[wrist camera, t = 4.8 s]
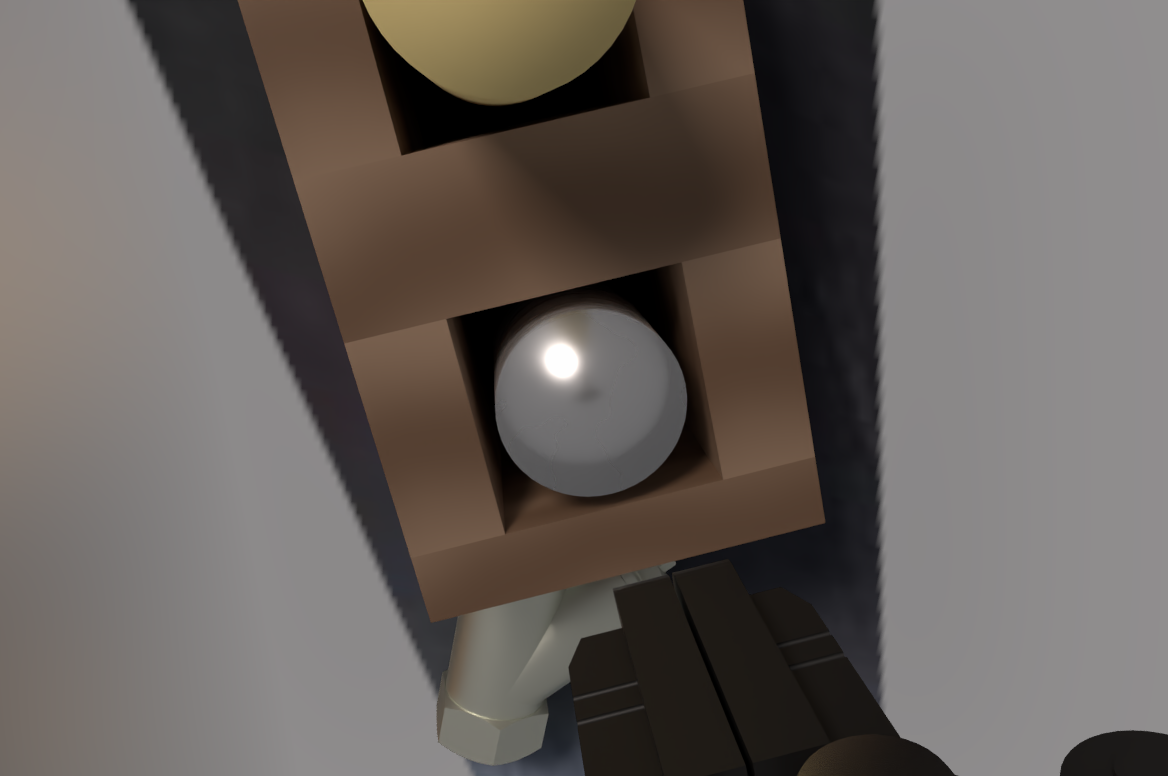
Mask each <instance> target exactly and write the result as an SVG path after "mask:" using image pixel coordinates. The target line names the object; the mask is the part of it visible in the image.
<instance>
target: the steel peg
mask: <svg viewBox="0 0 1168 776" xmlns="http://www.w3.org/2000/svg"><path fill="white" fill-rule="evenodd" d="M492 343H493V366H494V390H495V412H496V422H497V427H498V431H499V434H500V437H501V440H502V443H503V445H504V447H505V448H506V450H507V452H508V454H509V455H510V457H511V458H512V460H513V461H514V462H515V464H516V465H517V466H518V467H519V468H520V469H521V470H522V471H523V472H524V473H525V474H527V475H528V476H529V477H530V478H531V479H533V480H534V481H536V482H538V483H539V484H541V485H543V486H545V487H547V488H549V489H551V490H554V491H557V492H560V493H563V494H568V495H573V496H585V497H591V496H602V495H608V494H613V493H616V492H619V491H622V490H625V489H627V488H629V487H632V486H634V485H636V484H637V483H639V482H641V481H642V480H644V479H646V478H647V477H648V476H649V475H651V474H652V473H653V472H655V471H656V470H657V469H658V468H659V467H660V466H661V465H662V464H663V463H664V461H665V460H666V459H667V457H668V456H669V455H670V454H671V452H672V450H673V449H674V447H675V445H676V444H677V442H678V439H679V437H680V435H681V432H682V429H683V426H684V422H685V418H686V411H687V392H686V384H685V380H684V377H683V373H682V370H681V368H680V366H679V363H678V361H677V360H676V358H675V356H674V355H673V353H672V351H671V350H670V349H669V347H668V346H667V345H666V344H665V342H664V341H663V340H662V339H661V338H660V336H659V335H658V334H657V333H656V331H655V330H654V329H653V328H652V327H651V325H650V324H649V323H648V322H647V321H646V319H645V318H644V317H643V316H642V314H641V313H640V312H639V311H638V310H637V308H636V307H635V306H634V305H633V303H632V302H631V301H630V300H629V299H628V297H627V296H626V295H625V294H624V292H623V291H622V290H621V289H620V288H619V286H618V285H617V284H616V283H615V282H614V281H613V280H612V279H610V280H606V281H602V282H598V283H593V284H589V285H585V286H581V287H577V288H573V289H569V290H564V291H560V292H556V293H552V294H548V295H544V296H540V297H535V298H531V299H527V300H523V301H519V302H515V303H510V304H506V305H502V306H498V307H497V310H496V313H495V316H494V321H493V328H492Z"/></svg>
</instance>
